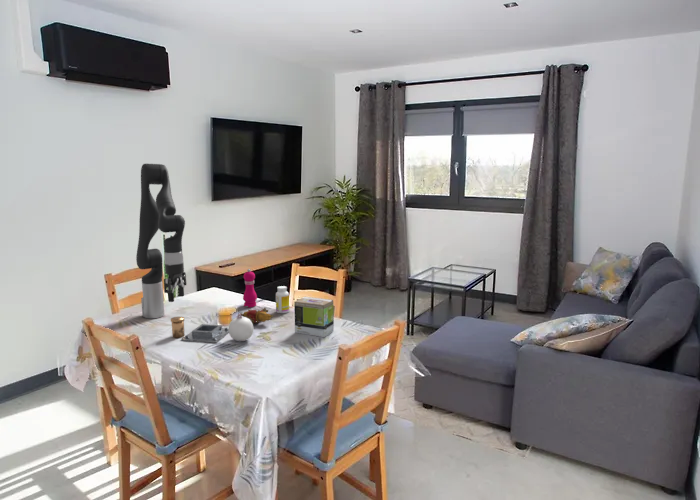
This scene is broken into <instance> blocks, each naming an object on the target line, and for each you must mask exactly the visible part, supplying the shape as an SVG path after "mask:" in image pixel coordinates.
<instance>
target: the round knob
mask: <svg viewBox="0 0 700 500" xmlns="http://www.w3.org/2000/svg"><path fill="white" fill-rule="evenodd" d="M170 322H171V334H172V338H173V339H182V338H183V337H185V336H186V335H185V317H184V316H174V317H171V318H170Z"/></svg>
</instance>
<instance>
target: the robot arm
mask: <svg viewBox="0 0 700 500" xmlns="http://www.w3.org/2000/svg"><path fill="white" fill-rule="evenodd" d="M150 185H161V188H160V190H159V192H158V193H157V195H156V198H154V197H153V194H152V192H151V189H150ZM172 195H173V194H172V187H171V183H170V175H169V170H168V167H167V165H165V164H160V163H143V164H142V165H141V168H140V209H139V225H138V226H139V229H138V231H139V232H138V242H137V247H136V248H137V250H136V257H135V259H136V265H137V267H138V269H139V270H148V269H150V271H149V272H148V273H145V274H144V275H142V277H141V287H142V288H141V289H142V297H141V300H140V301H141V312H142V313H141V314H142V315H141V316H142V318H145V319H158V318H159V319H160V318H162V317H164V316H165V303H164V302H165V301H164V294H167V298H168V299H167V300H168V302H169V303H173V302H174V301H175V295H174V294H175V293H174V292H175V289H176V288H178V289H177V290H178V297H182V298H183V297H184V296H185V286H187V274H186V272H185V268H184V267H185V266H184V255H183V244H182V243H183V241H182V240H183V234H184V230H185V226H186V221H185V217H183V215H181V214H176V213H177V208H176V206H175V205H176V204H175V202H174V200H173V199H174V198H173V196H172ZM158 231H160V232H162V233H174V235H173V236H170V237H167V238H165V239H164V241H163V249H164V256H163V255H162V252H161V250H160V249H158V248H151V249H150V248H149V245H150V243H151V241H152V239H153V238H154V236H155V235H156V234H157V232H158ZM163 257H164V270H165V271H164V272H165V274H166V275H167V276H168V277H167V278H164V279H163ZM163 288H164V289H163Z"/></svg>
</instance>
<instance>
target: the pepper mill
mask: <svg viewBox="0 0 700 500" xmlns="http://www.w3.org/2000/svg"><path fill="white" fill-rule="evenodd" d="M246 270H247V271H246V272H244V274H243V279H244V284H245V290H244V293H243V295H242V299H243V301H244V303H243V305H244V306H243V307H245V306H248V307H247V308H254V306H255V307H256V306H257V299H258V295H257V292H256V291H255V288H254V287H255V285H254V284H255V279H256V274H255V273H254V271H252V270H251V269H250V268H248V269H246Z"/></svg>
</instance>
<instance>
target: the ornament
mask: <svg viewBox="0 0 700 500" xmlns="http://www.w3.org/2000/svg"><path fill="white" fill-rule="evenodd" d="M228 329H229V333H228V334H229V336H230V338H231V339H232V340H234V341H236V342H244V341H247V340H249V339H250V338H251V337H252V335H253V333H254V324H253V323H252V322H251V320H250V319H248V318H246V317H243V316H241V314H240V313H238V314H237V317H235V318H233V319H231V321H230V322H229V325H228Z"/></svg>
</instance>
